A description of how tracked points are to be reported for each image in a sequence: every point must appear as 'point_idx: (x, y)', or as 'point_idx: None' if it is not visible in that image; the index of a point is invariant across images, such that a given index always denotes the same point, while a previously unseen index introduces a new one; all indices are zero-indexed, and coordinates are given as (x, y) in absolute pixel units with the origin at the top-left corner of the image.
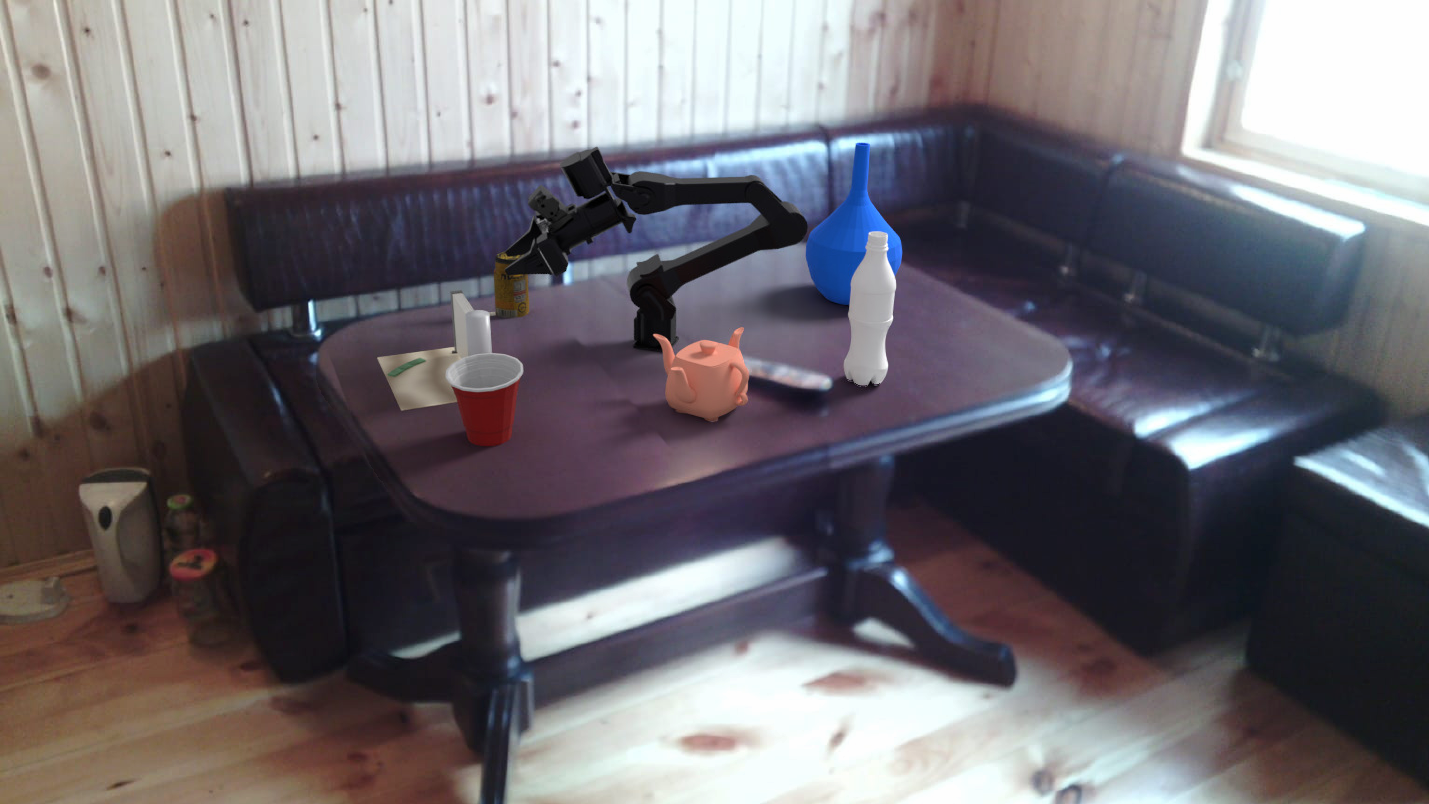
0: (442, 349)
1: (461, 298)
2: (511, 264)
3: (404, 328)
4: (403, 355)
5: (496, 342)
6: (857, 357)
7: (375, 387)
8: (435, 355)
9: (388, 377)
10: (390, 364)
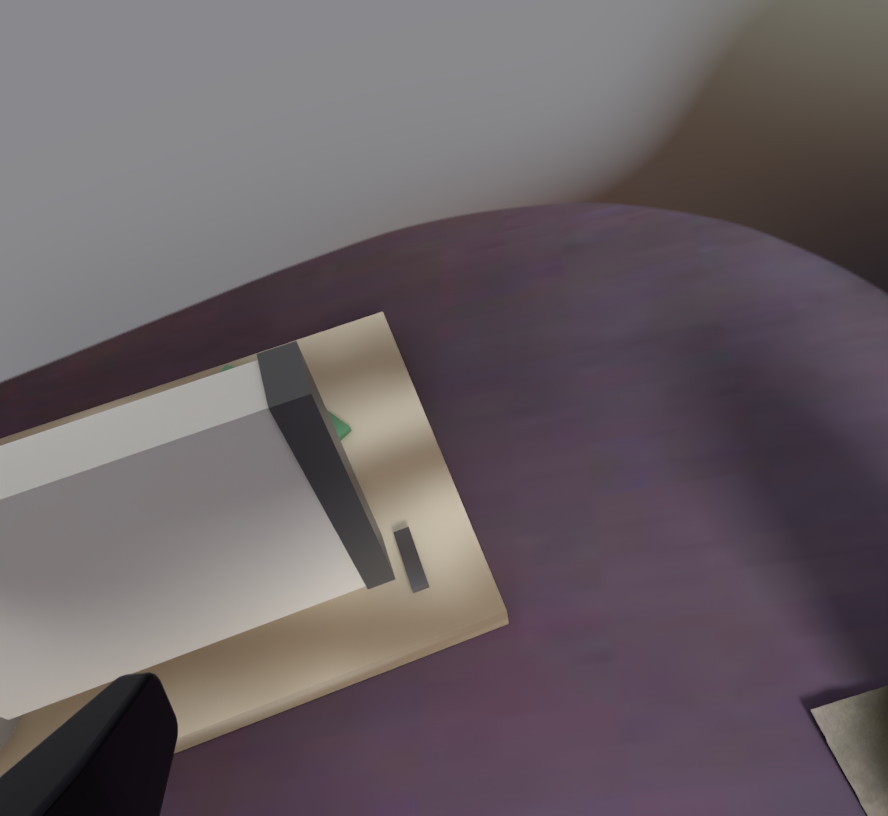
0: (443, 489)
1: (160, 421)
2: (46, 763)
3: (720, 331)
4: (393, 375)
5: (629, 727)
6: None
7: (210, 361)
8: (382, 475)
9: (211, 373)
10: (318, 356)
